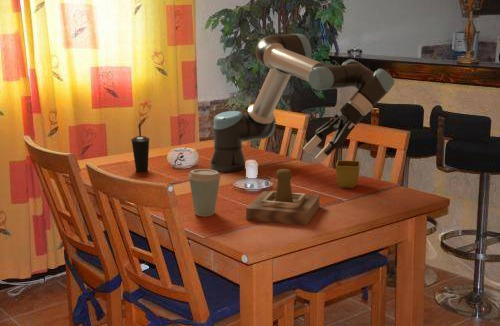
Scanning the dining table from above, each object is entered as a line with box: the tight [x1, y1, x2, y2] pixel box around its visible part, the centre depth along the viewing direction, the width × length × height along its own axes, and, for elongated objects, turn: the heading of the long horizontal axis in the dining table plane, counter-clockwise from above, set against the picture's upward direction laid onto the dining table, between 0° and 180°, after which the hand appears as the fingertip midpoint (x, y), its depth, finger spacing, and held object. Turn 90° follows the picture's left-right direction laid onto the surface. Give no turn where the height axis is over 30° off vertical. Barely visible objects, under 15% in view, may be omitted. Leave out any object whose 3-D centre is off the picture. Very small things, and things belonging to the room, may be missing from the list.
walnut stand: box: [245, 190, 321, 226], centre depth 226 cm, size 20×20×6 cm
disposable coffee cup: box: [188, 168, 221, 217], centre depth 224 cm, size 11×11×15 cm
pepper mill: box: [275, 168, 293, 203], centre depth 224 cm, size 6×6×11 cm
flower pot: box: [335, 159, 361, 189], centre depth 256 cm, size 9×9×9 cm
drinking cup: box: [130, 123, 151, 173], centre depth 279 cm, size 8×8×20 cm
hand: (311, 156), depth 223 cm, fingers open, 13 cm apart
